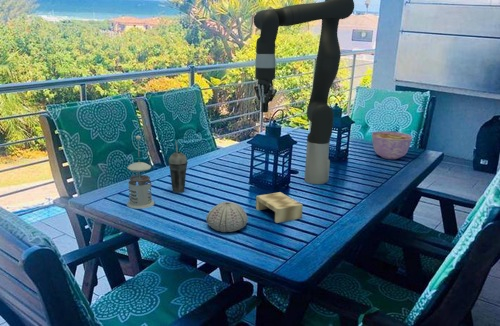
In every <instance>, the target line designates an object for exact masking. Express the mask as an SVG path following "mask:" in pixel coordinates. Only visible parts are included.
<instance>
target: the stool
mask: <svg viewBox="0 0 500 326" xmlns="http://www.w3.org/2000/svg"><path fill="white" fill-rule="evenodd" d="M255 199H256V200H255V210H257V211H262V210H268V209H270V210H272V212H274V222H275V223H276V224H278V223H285V222H289V221H294V220H298V219H302V218H303V207H304V206H303V203H300V202H299V201H296V199H293V198H292V197H290V196H288V195H287V194H284V193H283V192H281V191H279V192H273V193H267V194H266V193H265V194H260V195H256V197H255Z"/></svg>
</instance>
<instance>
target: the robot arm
mask: <svg viewBox="0 0 500 326" xmlns="http://www.w3.org/2000/svg"><path fill="white" fill-rule="evenodd" d="M354 10H355V1H354V0H324V1H321V2H309V3H300V4H292V5H287V6H283V7H279V8H271V9H270V8H269V9H263V10H259V11H256V13H255V14H254V16H253V24H254V26H255V27H256V29H258V30H260V35H259V37H258V38H257V39H256V43H255V45H256V47H255V60H254V61H255V62H254V63H255V64H254V65H255V70H254V73H255V77H254V78H255V79H256V80H257V82H256V83H257V84H256V85H255V86H253V90H254V91H255V95H256V97H257V100H258V101H260V103H261V104H260V106H261V108H260V109H261V113H264V114H265V113H268V112H269V103H270V102H271V103H272V102H273V99H274V98H275V96H276V94H277V89H275V88H274V83H273V80H275V79H276V40H277V36H278V32H279V27H291V26H296V25H300V24H301V25H302V24H306V23H309V22H314V21H315V22H316V21H320V20H321V29H320V36H319V42H318V49H317V54H316V59H315V67H314V75H313V82H312V89H311V94H310V97H309V102H308V105H307V109H306V116H307V119H308V121H309V122H310V130H309V133H308V134H307V138H306V150H305V151H306V152H305V155H306V156H305V171H304V182H306V183H308V184H310V185H311V184H312V185H322V184H326V183H327V182H329V180H330V177H329V175H330V166H331V165H330V164H331V160H330V159H329V156H330V155H329V151H330V141H331V137H332V134H333V126H334V110H333V108H332V107H331V106H330V105H328V101H329V94H330V90H331V87H332V85H333V83H334V81H335V80H336V77H337V75H338V72H339V68H340V63H341V54H342V53H341V52H342V51H341V47H340V42H339V38H338V29H339V23H340V20H345V19H348V18H349V17H351V15H352V13H353V12H354Z"/></svg>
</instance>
